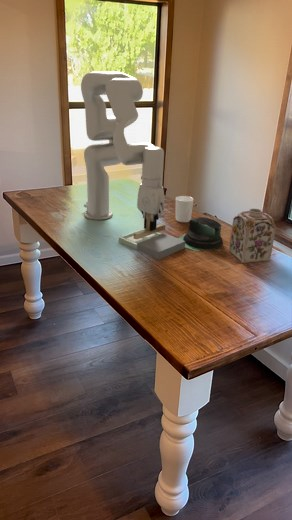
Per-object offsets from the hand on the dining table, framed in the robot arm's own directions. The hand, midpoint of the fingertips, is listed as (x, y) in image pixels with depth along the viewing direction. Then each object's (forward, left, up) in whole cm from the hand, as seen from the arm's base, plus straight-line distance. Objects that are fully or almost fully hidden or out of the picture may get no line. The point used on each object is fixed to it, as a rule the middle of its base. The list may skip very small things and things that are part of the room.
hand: (150, 228), depth 162 cm
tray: (-4, 0, -7) cm, 8 cm away
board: (+6, 0, -7) cm, 9 cm away
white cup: (-9, +31, -7) cm, 33 cm away
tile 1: (-5, -4, -5) cm, 7 cm away
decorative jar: (+32, +20, -7) cm, 39 cm away
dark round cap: (+12, +18, -7) cm, 23 cm away
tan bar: (0, 0, -2) cm, 2 cm away
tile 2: (-4, +3, -5) cm, 7 cm away
